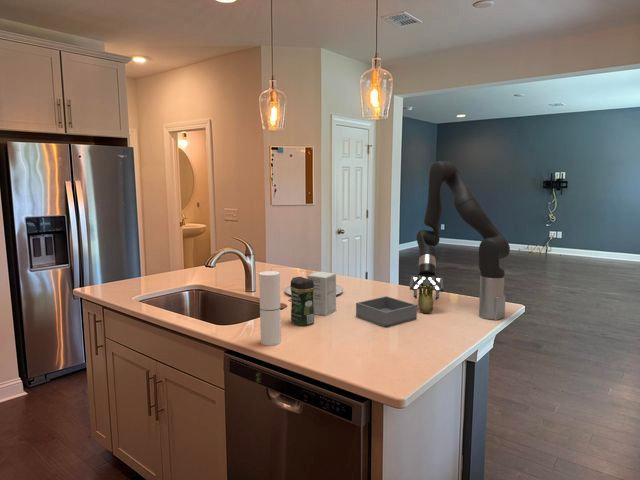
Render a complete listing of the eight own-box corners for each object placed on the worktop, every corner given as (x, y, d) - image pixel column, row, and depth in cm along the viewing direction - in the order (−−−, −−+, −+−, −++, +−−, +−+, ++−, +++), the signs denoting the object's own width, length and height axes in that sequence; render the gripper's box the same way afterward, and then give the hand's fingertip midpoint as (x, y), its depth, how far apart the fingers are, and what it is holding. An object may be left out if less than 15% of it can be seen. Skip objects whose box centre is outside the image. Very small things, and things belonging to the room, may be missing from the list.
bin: (416, 319, 183) (416, 305, 182) (385, 327, 173) (385, 312, 172) (386, 309, 197) (386, 296, 196) (356, 316, 187) (356, 302, 186)
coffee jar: (287, 321, 181) (286, 277, 178) (303, 317, 186) (303, 274, 183) (301, 327, 173) (300, 281, 171) (317, 323, 178) (317, 278, 176)
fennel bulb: (416, 312, 192) (417, 285, 191) (423, 310, 196) (423, 283, 194) (428, 315, 188) (429, 287, 187) (434, 312, 192) (435, 285, 190)
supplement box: (318, 307, 200) (318, 271, 198) (336, 310, 196) (336, 273, 193) (307, 313, 192) (306, 275, 190) (325, 316, 187) (325, 277, 185)
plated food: (273, 291, 231) (273, 285, 230) (319, 283, 249) (319, 277, 248) (307, 304, 207) (307, 297, 207) (355, 293, 225) (355, 287, 225)
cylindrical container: (262, 346, 154) (260, 275, 151) (259, 339, 161) (257, 271, 158) (282, 344, 156) (281, 274, 153) (279, 337, 163) (277, 270, 159)
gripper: (410, 261, 199) (409, 293, 189) (443, 262, 195) (443, 295, 186) (411, 270, 205) (409, 301, 195) (443, 272, 201) (443, 303, 192)
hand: (426, 298), depth 190 cm, fingers open, 8 cm apart
